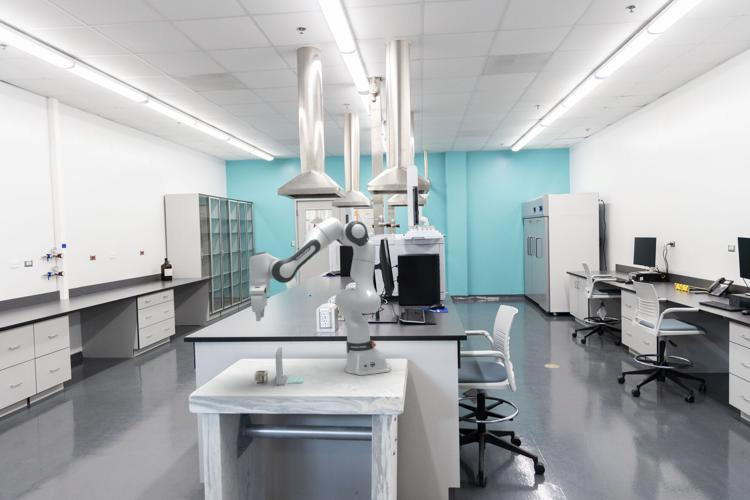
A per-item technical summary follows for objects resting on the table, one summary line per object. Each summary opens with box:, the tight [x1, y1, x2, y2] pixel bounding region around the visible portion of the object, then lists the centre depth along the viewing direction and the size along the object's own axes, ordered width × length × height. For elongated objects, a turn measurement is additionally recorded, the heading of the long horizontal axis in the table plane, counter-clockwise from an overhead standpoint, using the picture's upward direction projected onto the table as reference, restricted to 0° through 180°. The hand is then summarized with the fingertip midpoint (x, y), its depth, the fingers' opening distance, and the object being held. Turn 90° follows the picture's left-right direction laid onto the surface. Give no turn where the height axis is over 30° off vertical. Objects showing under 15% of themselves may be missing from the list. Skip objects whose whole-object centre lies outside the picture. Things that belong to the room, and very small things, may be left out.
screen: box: [272, 346, 288, 387], centre depth 206 cm, size 5×12×14 cm, turn 6°
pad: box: [286, 376, 304, 385], centre depth 206 cm, size 7×7×1 cm
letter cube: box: [254, 369, 269, 386], centre depth 204 cm, size 5×5×5 cm
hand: (260, 319), depth 204 cm, fingers open, 8 cm apart
